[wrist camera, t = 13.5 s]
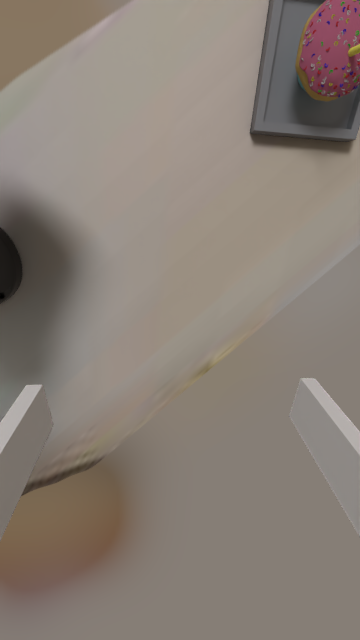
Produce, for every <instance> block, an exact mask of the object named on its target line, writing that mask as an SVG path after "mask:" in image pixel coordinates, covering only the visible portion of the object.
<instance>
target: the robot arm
mask: <svg viewBox="0 0 360 640" xmlns="http://www.w3.org/2000/svg"><path fill="white" fill-rule="evenodd" d="M21 278H22V264H21V260H20V256H19V254H18V251H17V249H16V247H15V245H14V244H13V242H12V241H11V239H10V238H9V237H8V235H7V234H6V233H5V232H4V231H3V230H2V229H1V228H0V304H1V303H2V302H4V301H5V300H7V299H8V298H10V297H11V296H12V295H13V294H14V293H15V292H16V291H17V289H18V287H19V285H20V282H21ZM289 417H290V419H291V421H292V422H293V424H294V426H295V427H296V429H297V431H298V432H299V434H300V436H301V438H302V439H303V441H304V442H305V444H306V446H307V448H308V450H309V451H310V453H311V454H312V456H313V458H314V460H315V462H316V463H317V465H318V467H319V468H320V470H321V472H322V474H323V475H324V477H325V479H326V480H327V482H328V484H329V486H330V487H331V489H332V491H333V492H334V494H335V496H336V497H337V499H338V501H339V503H340V504H341V506H342V508H343V509H344V511H345V513H346V514H347V516H348V518H349V520H350V521H351V523H352V525H353V526H354V528H355V530H356V532H357V533H358V535H359V537H360V431H359V430H358V429H357V428H356V427H355V426H354V424H353V423H352V422H351V421H350V420H349V418H347V416H346V415H345V414H344V413H343V412H342V410H341V409H340V408H339V407H338V405H337V404H336V403H335V402H334V401H333V399H331V397H330V396H329V395H328V394H327V392H326V391H325V390H324V389H323V388H322V387H321V385H320V384H319V383H318V382H317V381H316V379H315V378H301V379H300V383H299V386H298V389H297V392H296V395H295V399H294V402H293V405H292V408H291V411H290V415H289ZM52 427H53V421H52V417H51V413H50V410H49V406H48V402H47V399H46V395H45V391H44V387H43V385H26V386H25V388H24V389H23V390H22V392H21V393H20V395H19V396H18V398H17V399H16V401H15V402H14V403H13V405H12V406H11V408H10V409H9V411H8V412H7V413H6V415H5V416H4V418H3V419H2V421H1V422H0V540H1V538H2V536H3V534H4V532H5V530H6V527H7V525H8V523H9V521H10V518H11V516H12V514H13V512H14V510H15V508H16V505H17V503H18V501H19V499H20V497H21V495H22V492H23V490H24V488H25V486H26V484H27V482H28V479H29V477H30V475H31V473H32V471H33V468H34V466H35V464H36V462H37V460H38V458H39V455H40V453H41V451H42V449H43V447H44V444H45V442H46V440H47V438H48V436H49V434H50V431H51V429H52Z"/></svg>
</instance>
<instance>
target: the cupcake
mask: <svg viewBox="0 0 360 640" xmlns="http://www.w3.org/2000/svg"><path fill="white" fill-rule="evenodd" d="M295 68H296V72H297V78H298V82H299V84H300V86H301V88H302V89H303V90H304V91H306V92H307V93H308V94H309V95H310V96H311V97H312V98H313V99H315V100H321V101H331V100H334V99H337V98H340V97H342V96H344V95H347V94H349V93H351V92H353V91H354V89H356V88H357V86H358V85H359V84H360V0H326V1H325V2H324V3H323V4H322V5H320V6H319V7H318V8H317V9H316V10H315V11H314V12H313V13H312V14H311V15H310V17H309V18H308V20H307V22H306V24H305V26H304V28H303V31H302V34H301V38H300V42H299V46H298V52H297V58H296V64H295Z"/></svg>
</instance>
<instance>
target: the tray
mask: <svg viewBox="0 0 360 640" xmlns="http://www.w3.org/2000/svg"><path fill="white" fill-rule="evenodd" d="M325 1H326V0H269V7H268V14H267V21H266V27H265V34H264V41H263V48H262V54H261V61H260V68H259V75H258V81H257V88H256V95H255V102H254V108H253V115H252V122H251V129H250V133H253V134H264V135H275V136H286V137H297V138H308V139H319V140H331V141H342V142H348V141H352V140H355V139H356V136H357V133H358V130H359V126H360V84H359V85H358V86H357V88H356V89H354V91H353V92H351V93H349V94H347V95H344V96H342V97H340V98H337V99H334V100H331V101H321V100H315V99H313V98H312V97H311V96H310V95H309V94H308V93H307V92H306V91H304V90H303V89H302V88H301V86H300V84H299V82H298V78H297V72H296V68H295V64H296V58H297V52H298V46H299V42H300V38H301V34H302V31H303V28H304V26H305V24H306V22H307V20H308V18H309V17H310V15H311V14H312V13H313V12H314V11H315V10H316V9H317V8H318V7H319V6H320V5H322V4H323V3H324V2H325Z"/></svg>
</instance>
